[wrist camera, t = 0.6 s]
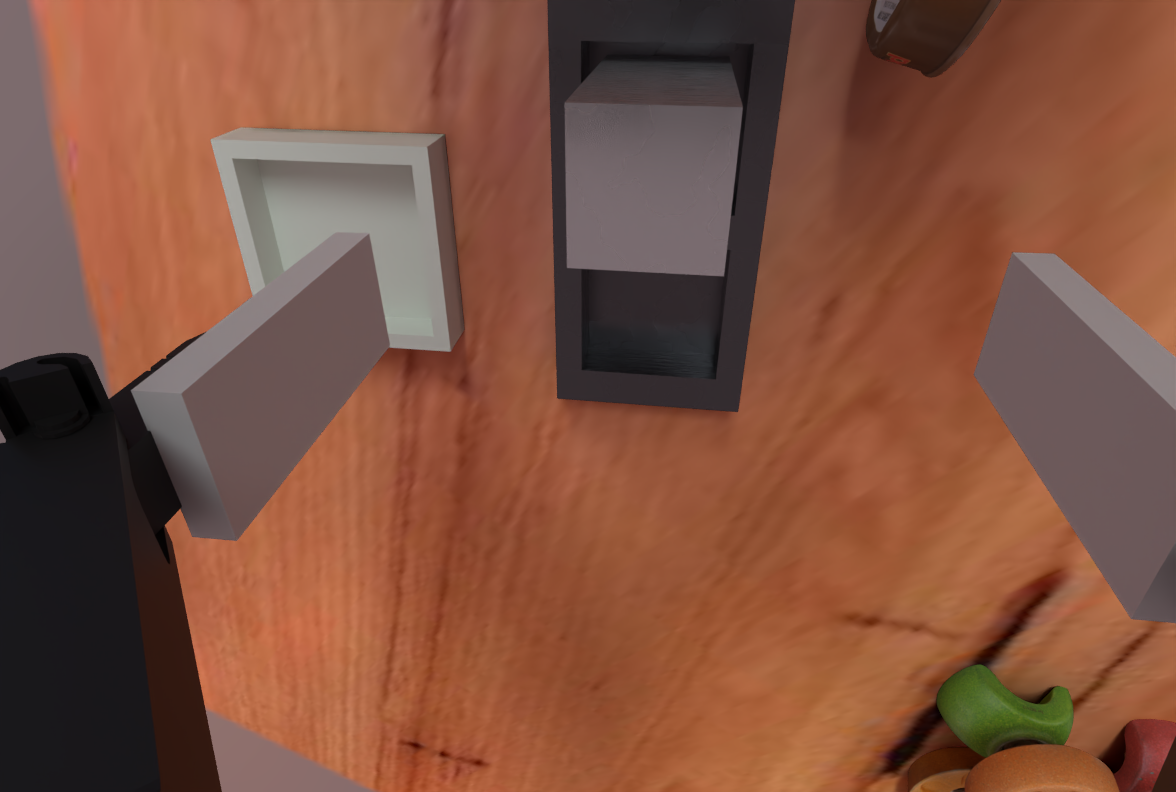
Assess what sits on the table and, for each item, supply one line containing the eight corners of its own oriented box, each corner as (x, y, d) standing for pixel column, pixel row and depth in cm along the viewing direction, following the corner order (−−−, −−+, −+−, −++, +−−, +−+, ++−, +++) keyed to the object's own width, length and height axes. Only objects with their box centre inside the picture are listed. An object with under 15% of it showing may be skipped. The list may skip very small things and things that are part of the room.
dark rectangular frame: (560, -17, 29) (547, -13, 26) (787, -15, 28) (796, -11, 25) (566, 369, 38) (557, 398, 36) (735, 380, 37) (738, 411, 35)
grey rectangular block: (607, 54, 29) (564, 102, 20) (729, 57, 29) (742, 107, 20) (605, 176, 32) (566, 267, 23) (717, 180, 31) (723, 276, 22)
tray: (241, 127, 34) (210, 139, 32) (444, 134, 32) (427, 146, 30) (287, 318, 39) (264, 338, 37) (464, 329, 38) (450, 351, 36)
